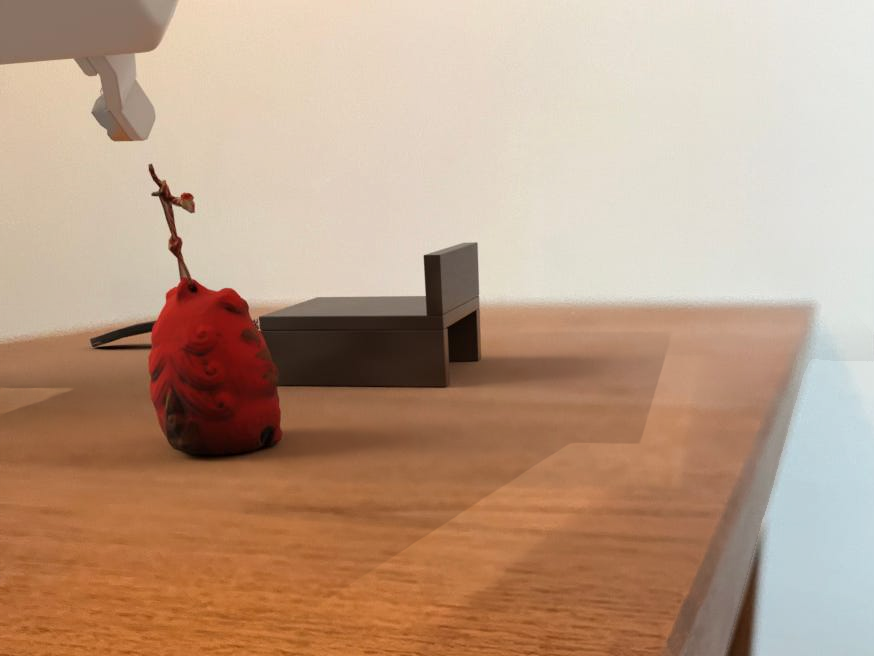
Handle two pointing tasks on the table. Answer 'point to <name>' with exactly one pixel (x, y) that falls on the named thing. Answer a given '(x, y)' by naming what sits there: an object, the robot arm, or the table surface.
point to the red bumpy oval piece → (209, 363)
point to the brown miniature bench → (383, 331)
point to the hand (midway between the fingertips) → (47, 135)
